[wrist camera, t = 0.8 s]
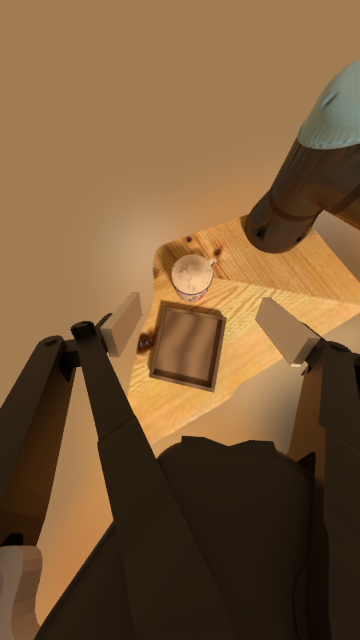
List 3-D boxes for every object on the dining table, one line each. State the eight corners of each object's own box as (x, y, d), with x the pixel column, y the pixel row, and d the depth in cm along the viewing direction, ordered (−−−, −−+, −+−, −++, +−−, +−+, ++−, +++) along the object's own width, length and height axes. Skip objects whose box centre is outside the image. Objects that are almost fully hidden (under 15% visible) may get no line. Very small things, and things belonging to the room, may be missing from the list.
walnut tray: (224, 318, 37) (226, 317, 35) (212, 388, 36) (214, 392, 33) (165, 308, 39) (163, 306, 37) (151, 374, 37) (148, 376, 35)
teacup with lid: (190, 310, 38) (189, 300, 27) (169, 287, 40) (158, 267, 28) (224, 281, 38) (236, 258, 27) (201, 258, 40) (204, 227, 28)
